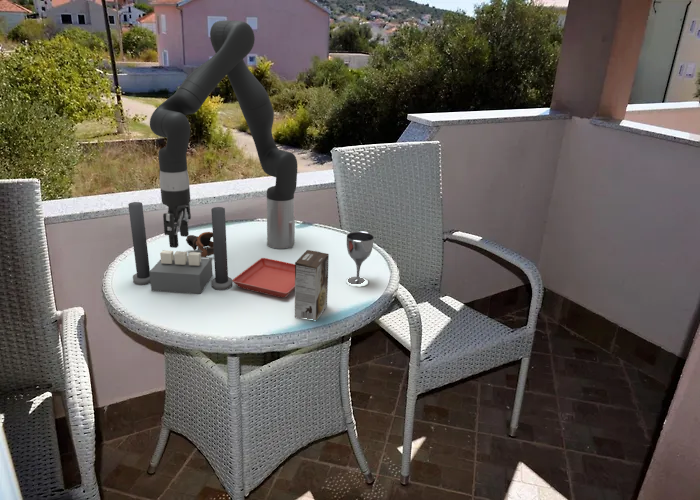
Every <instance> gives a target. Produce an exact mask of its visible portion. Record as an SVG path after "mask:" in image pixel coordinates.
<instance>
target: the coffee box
mask: <svg viewBox="0 0 700 500" xmlns="http://www.w3.org/2000/svg"><path fill="white" fill-rule="evenodd" d="M329 255H330V254H329V253H326V252H321V251H317V250H311V249H306V251H305V252H304V253H303V254H301V256H300V257H299V258H298V259H297V260H296V261H295V262H294V264H295V289H294V318H296V317H297V318H296V319H300V318H307V319H313V320H317V319H318V320H319V318H320V317H321V315H322V314H323V313H322V312H324V311H325V310H326V308H327V307H328V290H329V289H328V286H329ZM324 309H325V310H324ZM321 313H322V314H321ZM319 316H320V317H319ZM318 317H319V318H318ZM318 320H317V321H318Z"/></svg>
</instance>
